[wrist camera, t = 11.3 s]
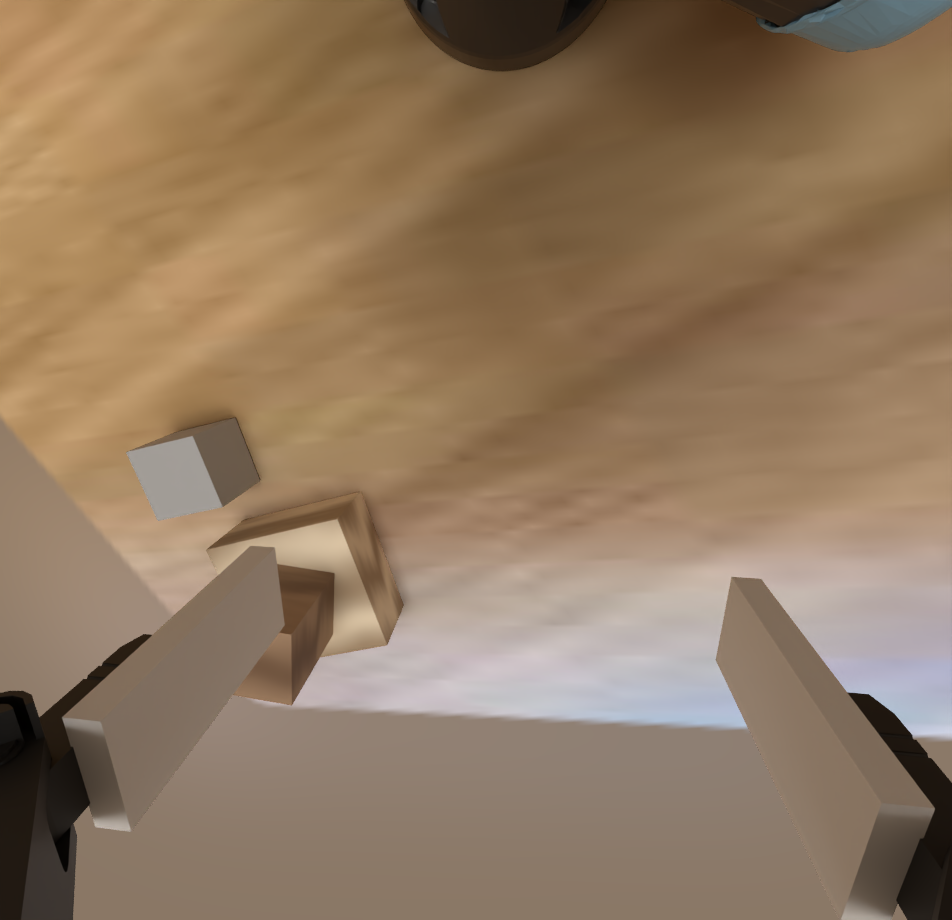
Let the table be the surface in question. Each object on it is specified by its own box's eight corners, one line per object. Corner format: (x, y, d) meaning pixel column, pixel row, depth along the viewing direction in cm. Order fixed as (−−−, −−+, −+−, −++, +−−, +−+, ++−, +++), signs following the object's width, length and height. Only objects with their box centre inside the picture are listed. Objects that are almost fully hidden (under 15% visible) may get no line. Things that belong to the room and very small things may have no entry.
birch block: (244, 519, 49) (206, 549, 43) (361, 490, 47) (337, 518, 41) (292, 626, 52) (262, 667, 47) (404, 604, 50) (387, 645, 44)
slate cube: (175, 432, 47) (126, 452, 41) (235, 417, 46) (192, 435, 40) (202, 493, 48) (157, 520, 43) (260, 480, 47) (222, 507, 42)
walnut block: (263, 561, 43) (205, 620, 35) (334, 573, 43) (291, 634, 35) (265, 623, 45) (210, 691, 37) (333, 634, 45) (291, 705, 37)
